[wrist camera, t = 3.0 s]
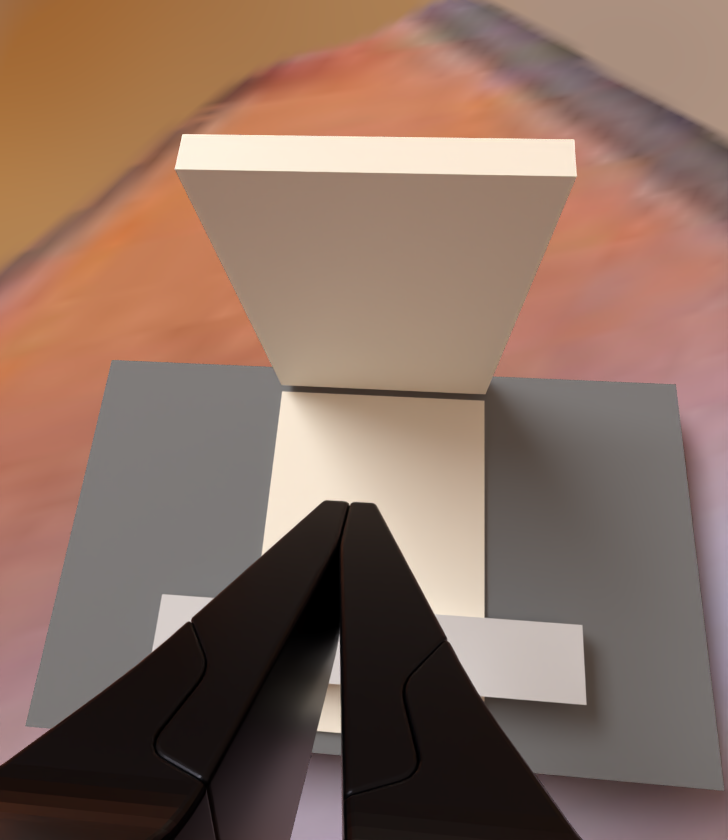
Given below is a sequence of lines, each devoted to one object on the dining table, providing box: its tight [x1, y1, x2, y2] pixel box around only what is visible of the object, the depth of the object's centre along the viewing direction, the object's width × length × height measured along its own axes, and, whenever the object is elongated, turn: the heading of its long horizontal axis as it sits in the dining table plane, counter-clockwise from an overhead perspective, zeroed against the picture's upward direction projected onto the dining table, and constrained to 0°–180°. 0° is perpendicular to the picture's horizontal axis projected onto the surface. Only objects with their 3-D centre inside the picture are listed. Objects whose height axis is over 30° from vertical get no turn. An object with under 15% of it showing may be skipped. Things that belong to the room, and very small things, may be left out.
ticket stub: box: [175, 134, 577, 394], centre depth 15 cm, size 1×7×10 cm, turn 86°
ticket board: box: [26, 360, 724, 791], centre depth 18 cm, size 12×20×3 cm, turn 86°
